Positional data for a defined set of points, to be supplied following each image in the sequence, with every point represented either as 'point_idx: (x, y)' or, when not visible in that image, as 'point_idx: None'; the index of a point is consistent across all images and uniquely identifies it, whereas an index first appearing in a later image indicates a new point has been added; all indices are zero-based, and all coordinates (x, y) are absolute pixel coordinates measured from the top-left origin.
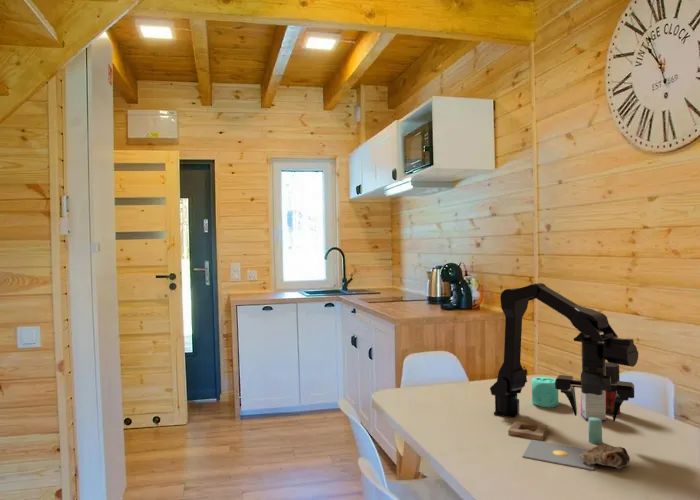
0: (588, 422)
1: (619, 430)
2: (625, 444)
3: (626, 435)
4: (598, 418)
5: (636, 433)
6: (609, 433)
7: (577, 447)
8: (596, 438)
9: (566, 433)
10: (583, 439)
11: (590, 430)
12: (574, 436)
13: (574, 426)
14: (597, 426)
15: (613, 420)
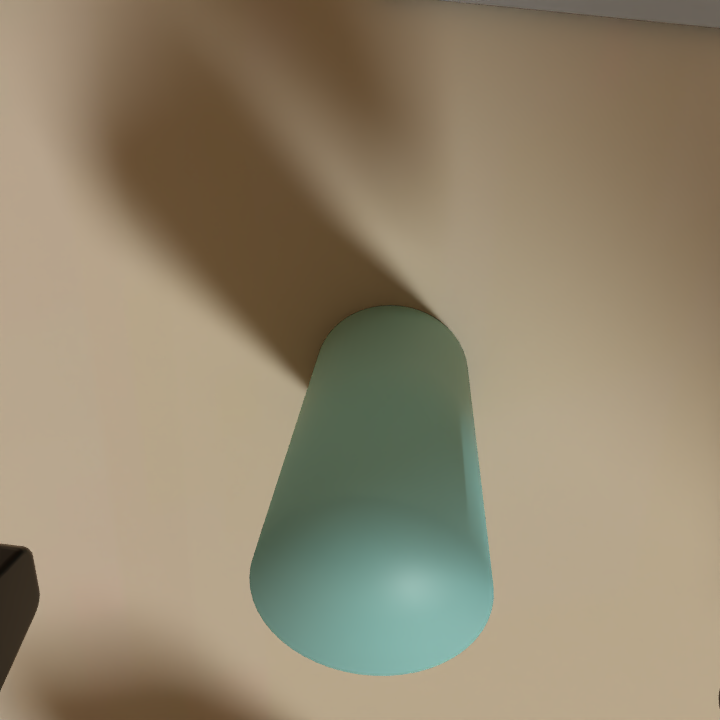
0: (487, 540)
1: (171, 706)
2: (78, 402)
3: (103, 621)
4: (308, 647)
5: (34, 678)
6: (249, 629)
7: (676, 16)
8: (376, 336)
9: (703, 526)
10: (526, 406)
11: (455, 413)
12: (622, 466)
13: (573, 709)
14: (339, 441)
15: (15, 552)
